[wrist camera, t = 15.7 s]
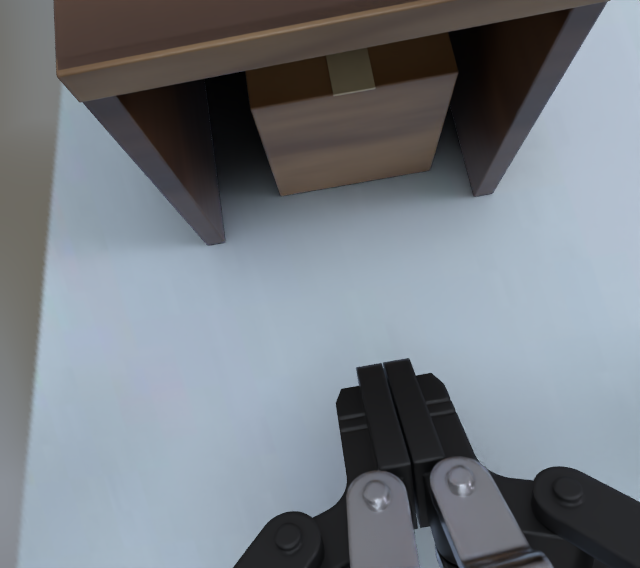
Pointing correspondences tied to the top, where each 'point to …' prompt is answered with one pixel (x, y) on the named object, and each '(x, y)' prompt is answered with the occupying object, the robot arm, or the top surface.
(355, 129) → the parcel box
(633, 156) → the top surface
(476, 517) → the robot arm
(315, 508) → the top surface
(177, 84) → the cabinet
